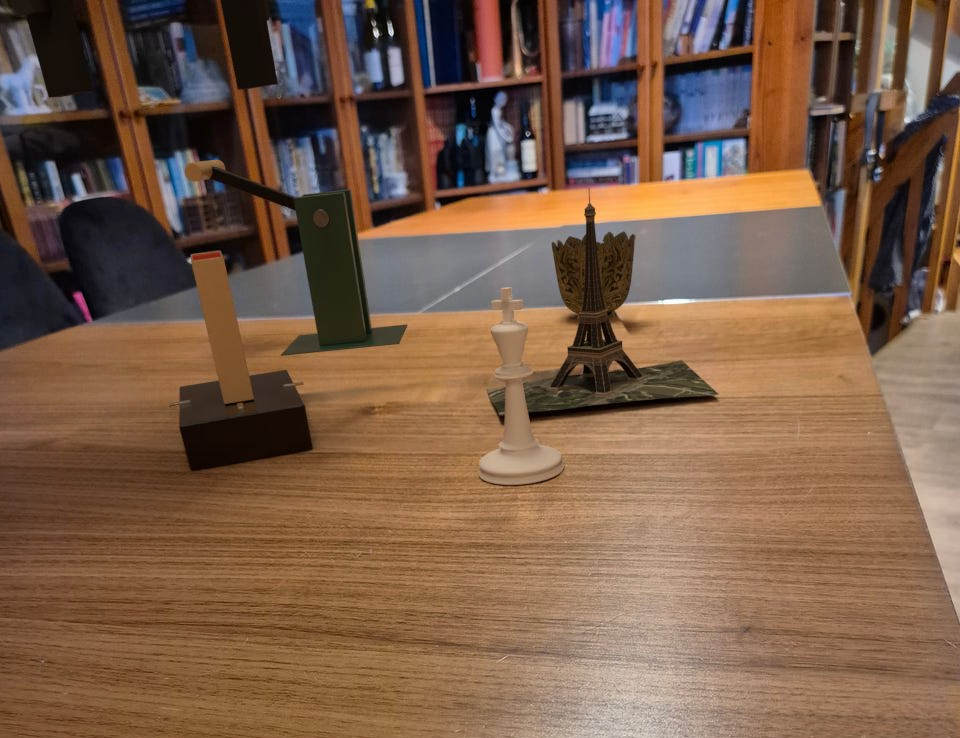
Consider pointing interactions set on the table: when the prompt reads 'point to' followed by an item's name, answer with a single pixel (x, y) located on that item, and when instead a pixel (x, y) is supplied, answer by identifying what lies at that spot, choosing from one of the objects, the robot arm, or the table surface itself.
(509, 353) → the chess piece
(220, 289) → the tan standing plaque
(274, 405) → the base
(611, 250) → the cup
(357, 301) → the bracket
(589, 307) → the eiffel tower figurine
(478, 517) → the table surface
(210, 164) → the lever
